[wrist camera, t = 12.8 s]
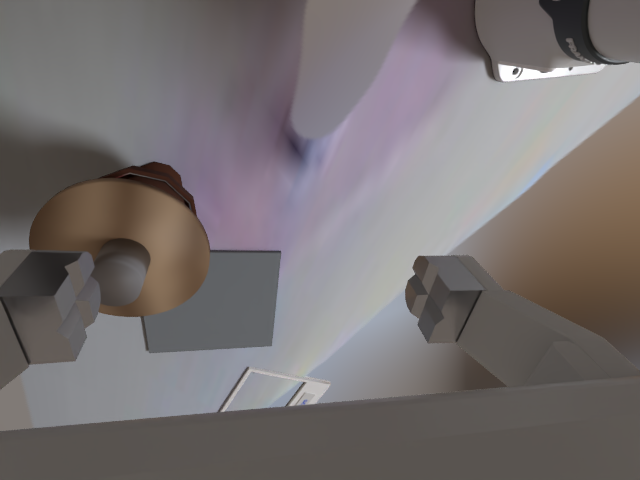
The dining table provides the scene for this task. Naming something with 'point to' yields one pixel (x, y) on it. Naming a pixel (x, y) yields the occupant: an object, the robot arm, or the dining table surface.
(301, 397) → the photo frame
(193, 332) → the rubber mat
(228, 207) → the dining table surface
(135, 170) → the ice cream bowl
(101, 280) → the walnut lid
